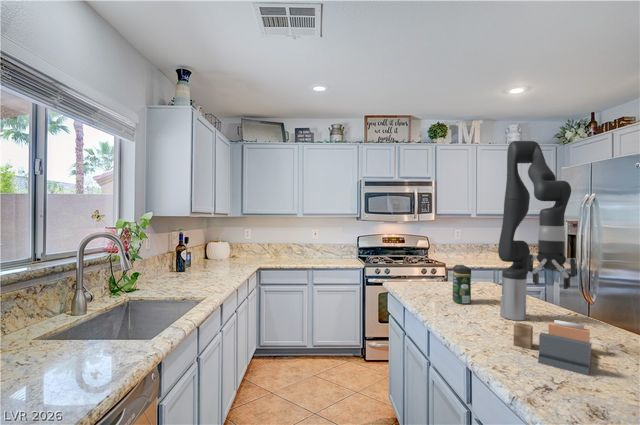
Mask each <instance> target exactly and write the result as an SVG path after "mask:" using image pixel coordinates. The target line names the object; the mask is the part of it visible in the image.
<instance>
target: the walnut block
mask: <svg viewBox="0 0 640 425" xmlns="http://www.w3.org/2000/svg"><path fill="white" fill-rule="evenodd" d="M533 329H534V326H533V325H532V324H526V323H521V322H515V323H514V324H513V347H517V348H522V349H527V350H530V351H531V349H532V348H533V339H534V338H533V337H534V335H533V334H534V331H533Z"/></svg>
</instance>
